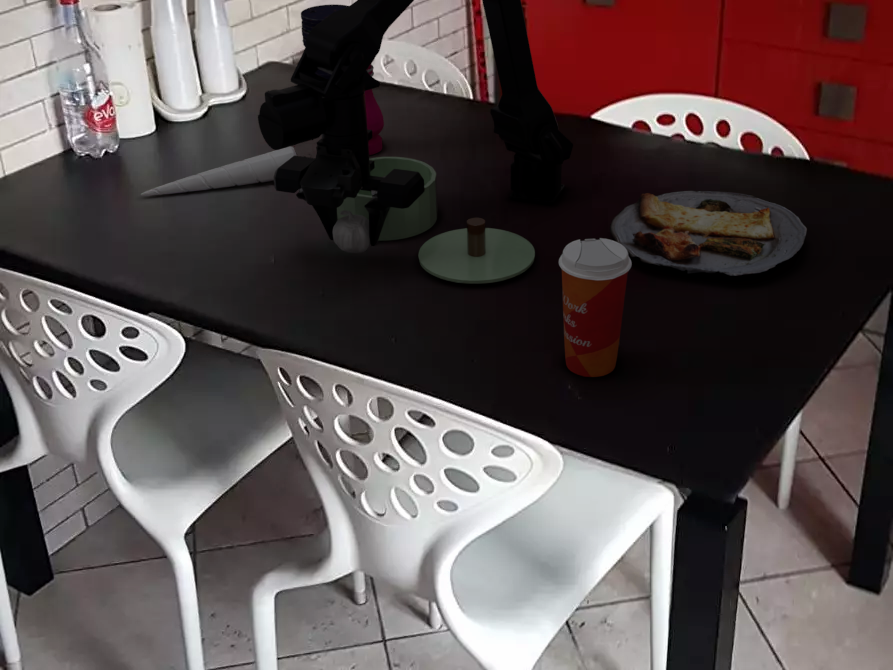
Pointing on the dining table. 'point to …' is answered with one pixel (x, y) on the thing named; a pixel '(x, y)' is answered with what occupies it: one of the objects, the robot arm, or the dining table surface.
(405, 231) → the squat sage green cylinder
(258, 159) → the unicorn horn
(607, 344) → the paper cup
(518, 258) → the lid
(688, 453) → the dining table surface
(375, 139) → the pepper mill
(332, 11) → the storage jar
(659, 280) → the dining table surface
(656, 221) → the food plate
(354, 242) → the garlic
